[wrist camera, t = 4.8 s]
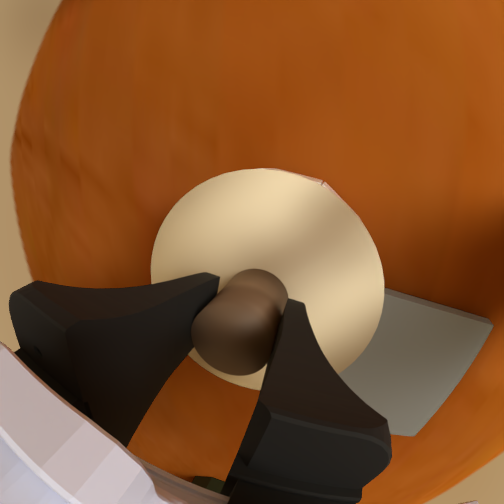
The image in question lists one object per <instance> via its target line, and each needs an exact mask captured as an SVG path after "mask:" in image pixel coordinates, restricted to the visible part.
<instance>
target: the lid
mask: <svg viewBox="0 0 504 504" xmlns="http://www.w3.org/2000/svg"><path fill="white" fill-rule="evenodd" d="M202 272H208V273H211V274H214V275H217V276H220V281H219V287H218V293H217V295H216V296H215V297H214V298H213V299H212V300H211V301H210V302H209V303H208V304H207V306H206V307H205V308H204V309H203V310H202V311H201V312H200V313H199V314H198V315H197V316H196V318H195V319H194V321H193V323H192V327H191V338H192V342H193V345H194V348H193V349H192V350H191V351H190V353H189V354H188V355H189V356H190V357H191V358H192V359H193V360H194V361H195V362H197V363H198V364H199V365H201V366H202V367H203V368H205V369H206V370H208V371H209V372H211V373H213V374H214V375H216V376H218V377H220V378H222V379H224V380H226V381H228V382H231V383H234V384H236V385H239V386H242V387H246V388H250V389H255V390H261V386H262V382H263V378H264V374H265V370H266V366H267V362H268V361H269V358H270V356H271V353H272V350H273V347H274V343H275V339H276V335H277V331H278V328H279V325H280V321H281V318H282V315H283V312H284V308H285V305H286V302H287V300H288V298H290V299H293V300H296V301H300V302H303V303H304V304H305V306H306V311H307V315H308V318H309V321H310V324H311V327H312V330H313V332H314V335H315V337H316V339H317V342H318V344H319V346H320V348H321V350H322V352H323V354H324V355H325V357H326V358H327V360H328V361H329V363H330V364H331V366H332V367H333V369H334V370H335V371H336V373H337V374H339V373H340V372H342V371H343V370H345V369H346V368H347V367H348V366H349V365H351V364H352V363H353V362H354V361H355V360H356V359H357V358H358V357H359V356H360V354H361V353H362V352H363V351H364V350H365V348H366V347H367V345H368V344H369V342H370V341H371V339H372V337H373V335H374V333H375V331H376V329H377V327H378V323H379V320H380V317H381V314H382V308H383V302H384V277H383V270H382V264H381V261H380V258H379V255H378V252H377V249H376V246H375V244H374V242H373V240H372V238H371V236H370V234H369V232H368V231H367V229H366V228H365V226H364V225H363V223H362V222H361V221H360V219H359V218H358V216H357V215H356V214H355V213H354V212H353V210H352V209H351V208H350V207H349V206H348V205H347V204H346V203H345V202H344V201H343V200H341V199H340V198H339V197H338V196H336V195H335V194H334V193H333V192H331V191H330V190H328V189H327V188H325V187H323V186H322V185H320V184H318V183H316V182H314V181H312V180H310V179H307V178H305V177H302V176H300V175H296V174H292V173H288V172H284V171H277V170H267V169H249V170H239V171H234V172H229V173H225V174H222V175H219V176H217V177H214V178H211V179H209V180H207V181H205V182H204V183H202V184H200V185H198V186H196V187H195V188H194V189H192V190H191V191H190V192H188V193H187V194H186V195H184V196H183V197H182V198H181V199H180V200H179V201H178V202H177V203H176V204H175V205H174V207H173V208H172V209H171V211H170V212H169V214H168V215H167V216H166V218H165V220H164V222H163V224H162V225H161V227H160V229H159V232H158V235H157V237H156V240H155V243H154V248H153V252H152V260H151V283H152V284H155V283H160V282H165V281H169V280H173V279H177V278H181V277H185V276H189V275H193V274H197V273H202Z"/></svg>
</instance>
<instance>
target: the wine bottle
mask: <svg viewBox="0 0 504 504" xmlns="http://www.w3.org/2000/svg"><path fill="white" fill-rule="evenodd" d="M224 483H225V482H224V481H221V480H218V479H215V478H213V477H200V476H195V478H194V480H193V482H192V484H195V485H197V486H200V487H202V488H205V489H208V490H210V491H213V492H216V493H219V494H220V492H221V490H222V488H223V485H224Z"/></svg>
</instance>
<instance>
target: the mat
mask: <svg viewBox="0 0 504 504" xmlns="http://www.w3.org/2000/svg"><path fill="white" fill-rule="evenodd" d="M493 326H494V325H493V324H492V323H491V321H490V320H489V319H488V318H484V317H481V316H478V315H474V314H471V313H468V312H464V311H461V310H458V309H454V308H451V307H448V306H444V305H441V304H438V303H434V302H431V301H428V300H424V299H421V298H418V297H414V296H411V295H407V294H404V293H401V292H397V291H394V290H391V289H387V288H384V302H383V308H382V314H381V317H380V320H379V323H378V327H377V329H376V331H375V333H374V335H373V337H372V339H371V341H370V342H369V344H368V345H367V347H366V348H365V350H364V351H363V352H362V353H361V354H360V356H359V357H358V358H357V359H356V360H355V361H354V362H353V363H352V364H351V365H349V366H348V367H347V368H346V369H345V370H343V371H342V372H340V373H339V374H338V375H339V376H340V377H341V379H342V380H343V381H344V382H345V383H346V384H347V385H348V387H349V388H350V389H351V390H352V391H353V392H354V393H355V394H356V395H357V396H359V397H360V398H361V399H362V400H363V401H364V402H365V403H366V404H367V405H369V406H370V407H371V408H373V409H374V410H375V411H376V412H378V413H379V414H380V415H382V416H383V417H384V418H386V419H387V420H388V426H389V431H390V434H395V435H405V436H415V435H416V434H417V433H418V432H419V430H420V429H421V428H422V427H423V426H424V425H425V424H426V423H427V422H428V420H429V419H430V418H431V417H432V416H433V415H434V413H435V412H436V411H437V410H438V409H439V407H440V406H441V405H442V404H443V402H444V401H445V400H446V399H447V397H448V396H449V395H450V393H451V392H452V391H453V389H454V388H455V387H456V385H457V384H458V383H459V381H460V380H461V378H462V377H463V375H464V374H465V373H466V371H467V370H468V368H469V367H470V365H471V364H472V362H473V360H474V359H475V357H476V356H477V354H478V352H479V351H480V349H481V347H482V346H483V344H484V342H485V341H486V339H487V337H488V335H489V334H490V332H491V330H492V328H493Z"/></svg>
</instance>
